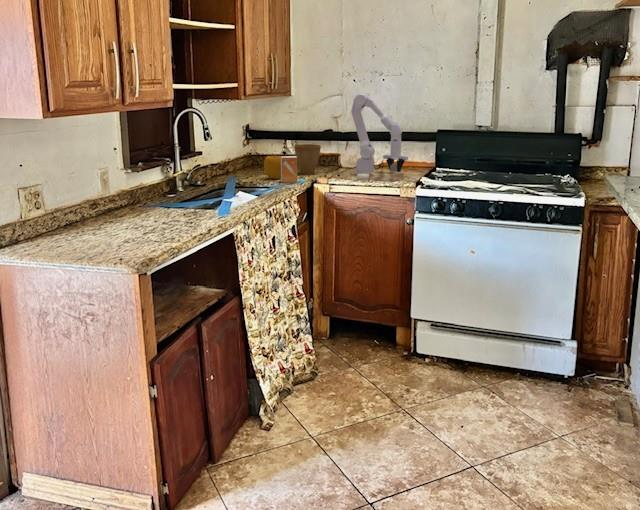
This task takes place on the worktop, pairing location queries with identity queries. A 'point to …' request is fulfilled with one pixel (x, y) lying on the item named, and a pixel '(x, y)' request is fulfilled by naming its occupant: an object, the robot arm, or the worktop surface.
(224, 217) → the worktop surface
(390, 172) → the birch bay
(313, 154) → the plant pot
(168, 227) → the worktop surface
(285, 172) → the small box
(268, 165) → the mustard rounded block
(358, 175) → the pale grey block
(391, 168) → the slate plug
